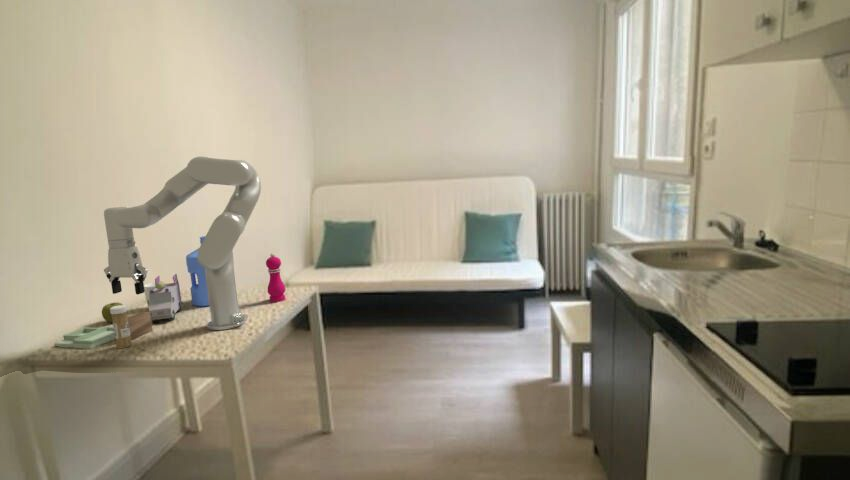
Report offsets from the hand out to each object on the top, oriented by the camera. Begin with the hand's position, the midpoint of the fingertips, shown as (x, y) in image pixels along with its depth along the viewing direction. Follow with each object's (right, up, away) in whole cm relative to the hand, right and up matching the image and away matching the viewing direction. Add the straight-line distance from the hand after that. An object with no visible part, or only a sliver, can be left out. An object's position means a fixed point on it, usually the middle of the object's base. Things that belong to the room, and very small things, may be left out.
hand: (128, 293), depth 171 cm
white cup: (-10, -10, +37) cm, 40 cm away
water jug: (+11, -8, +42) cm, 44 cm away
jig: (-13, -16, +1) cm, 21 cm away
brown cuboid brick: (+1, -15, +3) cm, 16 cm away
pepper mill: (+40, -7, +38) cm, 55 cm away
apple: (-18, -13, +21) cm, 31 cm away
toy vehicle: (+1, -12, +24) cm, 27 cm away
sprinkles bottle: (+3, -17, -7) cm, 18 cm away
